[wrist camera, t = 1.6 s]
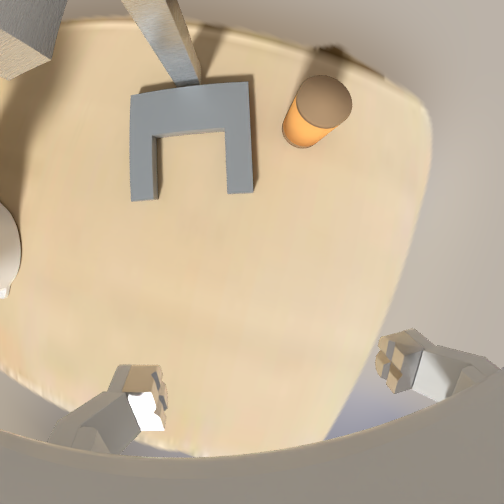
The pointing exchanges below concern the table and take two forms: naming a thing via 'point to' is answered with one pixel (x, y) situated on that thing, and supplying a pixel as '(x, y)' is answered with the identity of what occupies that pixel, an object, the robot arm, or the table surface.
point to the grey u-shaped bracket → (190, 131)
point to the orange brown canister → (316, 111)
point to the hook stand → (48, 21)
